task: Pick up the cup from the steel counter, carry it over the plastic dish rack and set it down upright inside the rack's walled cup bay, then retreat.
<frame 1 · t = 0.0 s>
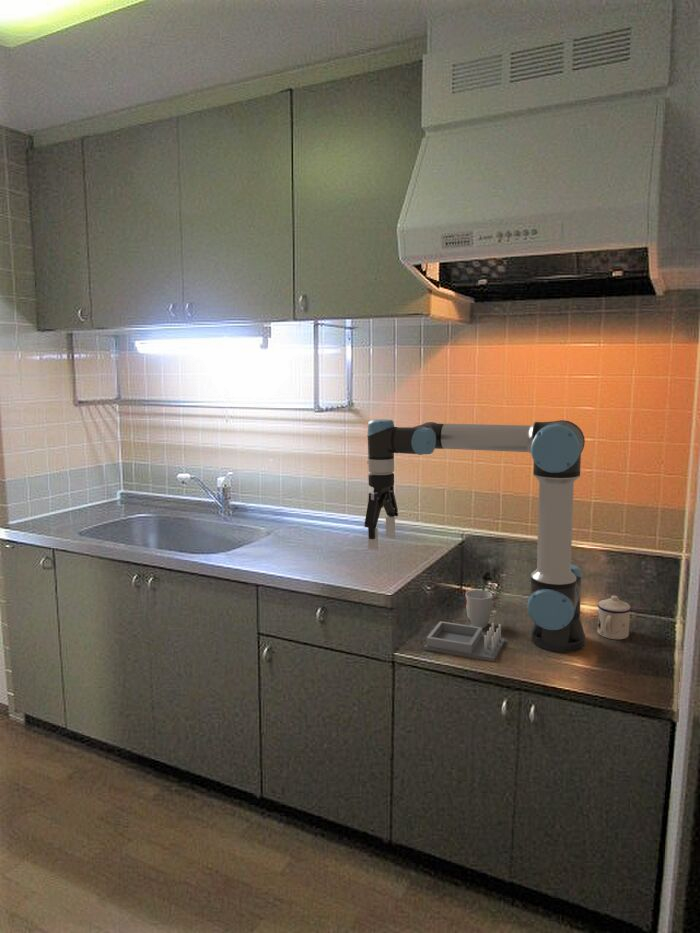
hand: (382, 543, 195), 28 cm above the worktop, fingers open, 13 cm apart
teacup with lid: (611, 636, 194), on the worktop
dish rack: (465, 645, 189), on the worktop
cup: (478, 625, 203), on the worktop
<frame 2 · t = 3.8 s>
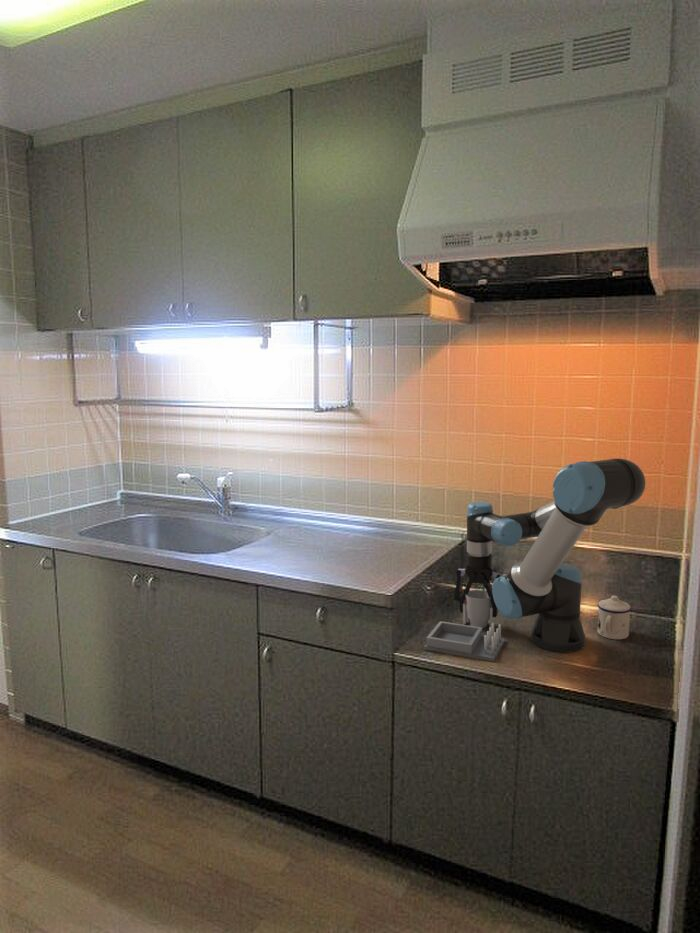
hand: (478, 624, 203), 0 cm above the worktop, fingers closed on cup, 8 cm apart
cup: (478, 625, 203), on the worktop, touching gripper
everything else where it was.
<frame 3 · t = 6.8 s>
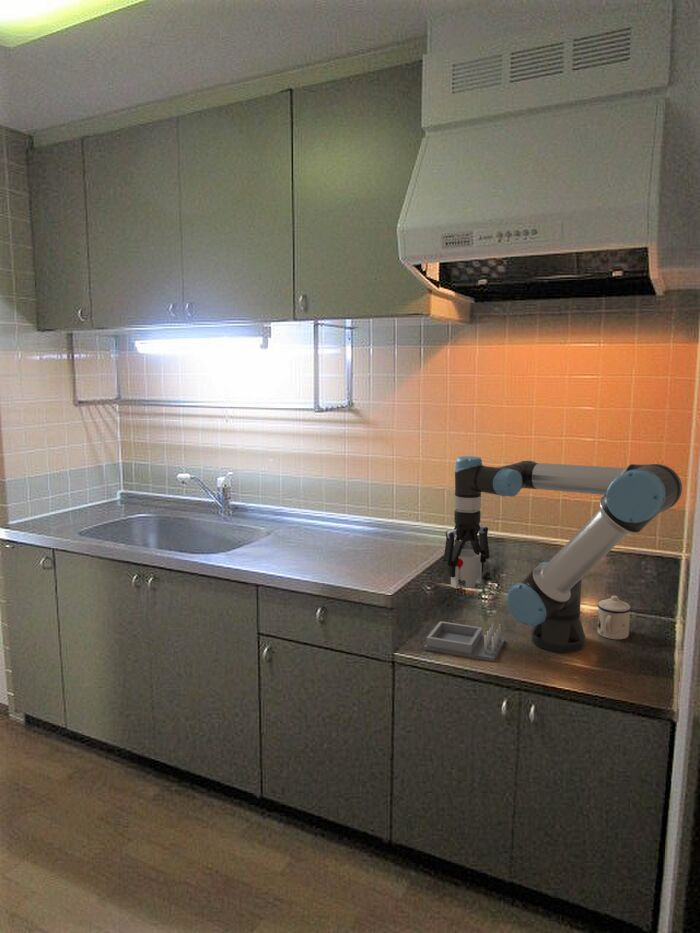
hand: (466, 584, 195), 15 cm above the worktop, fingers closed on cup, 8 cm apart
cup: (466, 586, 195), point 15 cm above the worktop, touching gripper
everything else where it was.
when the fingers open (4 cm above the worktop, at t = 9.8 s): cup drops 3 cm, resting on dish rack.
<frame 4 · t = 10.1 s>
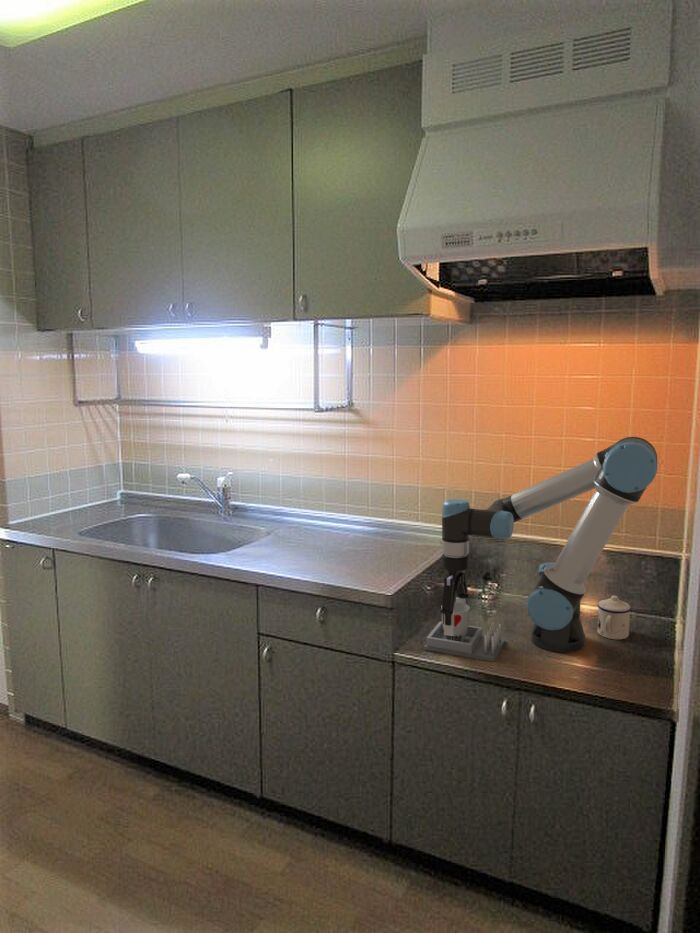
hand: (454, 627, 189), 5 cm above the worktop, fingers open, 11 cm apart
cup: (455, 640, 191), point 1 cm above the worktop, touching dish rack
everything else where it was.
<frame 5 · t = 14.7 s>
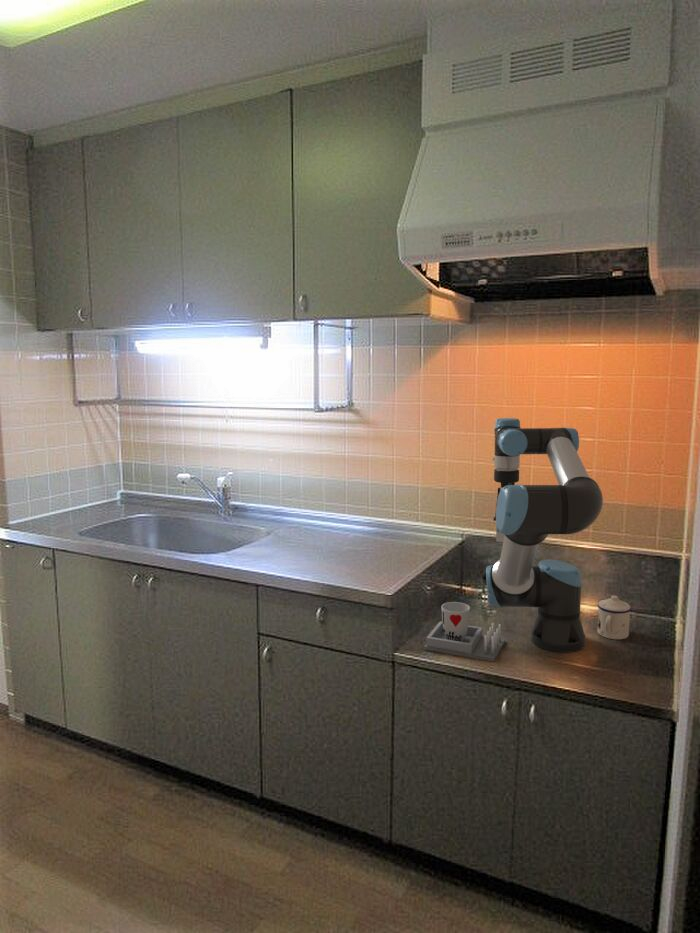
hand: (505, 536, 205), 27 cm above the worktop, fingers open, 13 cm apart
nothing on the worktop moved.
at the end: cup 0.7 cm from the target spot on the dish rack, point 0.8 cm above the dish rack's base; cup tilted 0°; the gripper is holding nothing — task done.
